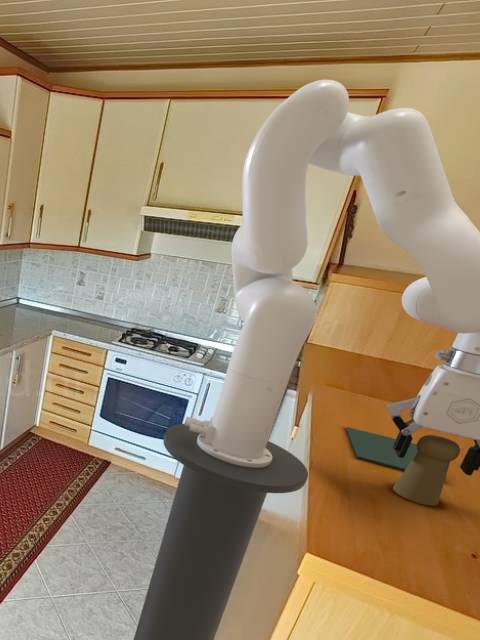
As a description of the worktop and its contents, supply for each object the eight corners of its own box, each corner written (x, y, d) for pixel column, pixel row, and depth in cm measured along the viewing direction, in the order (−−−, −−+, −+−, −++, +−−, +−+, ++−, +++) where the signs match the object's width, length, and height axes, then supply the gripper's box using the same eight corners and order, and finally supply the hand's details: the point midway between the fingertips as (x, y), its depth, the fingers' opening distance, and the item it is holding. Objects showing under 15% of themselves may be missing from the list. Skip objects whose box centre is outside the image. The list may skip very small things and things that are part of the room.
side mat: (356, 458, 96) (357, 456, 96) (346, 428, 111) (347, 426, 111) (442, 481, 90) (443, 479, 90) (418, 447, 105) (419, 444, 105)
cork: (405, 501, 82) (433, 442, 78) (385, 483, 87) (410, 427, 84) (446, 508, 81) (477, 450, 77) (424, 490, 86) (451, 434, 83)
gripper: (413, 356, 77) (371, 454, 83) (569, 385, 69) (510, 491, 75) (403, 347, 83) (364, 439, 89) (545, 372, 75) (492, 471, 81)
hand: (431, 462), depth 82 cm, fingers open, 8 cm apart
